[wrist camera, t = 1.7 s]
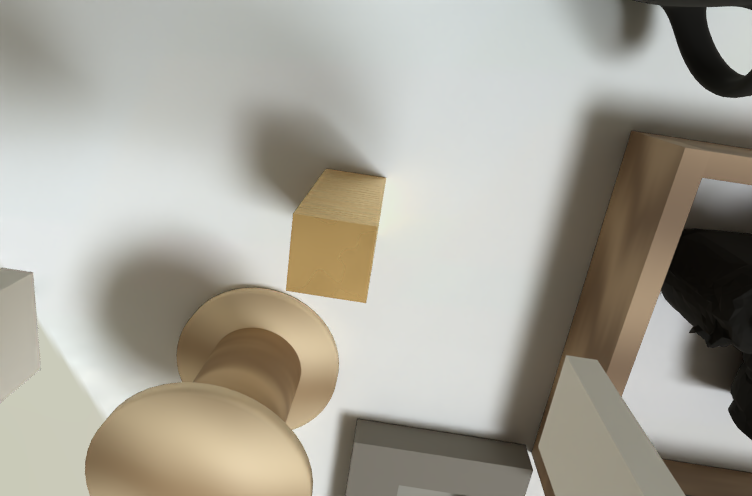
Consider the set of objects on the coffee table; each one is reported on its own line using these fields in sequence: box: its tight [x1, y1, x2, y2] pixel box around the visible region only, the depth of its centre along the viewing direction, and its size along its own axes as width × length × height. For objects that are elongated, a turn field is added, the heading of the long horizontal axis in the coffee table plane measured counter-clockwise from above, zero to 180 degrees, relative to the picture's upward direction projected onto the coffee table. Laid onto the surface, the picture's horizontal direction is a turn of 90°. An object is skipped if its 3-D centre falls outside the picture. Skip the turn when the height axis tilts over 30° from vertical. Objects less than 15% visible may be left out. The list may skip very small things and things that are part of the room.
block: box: [286, 169, 386, 303], centre depth 23 cm, size 3×3×8 cm
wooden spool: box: [85, 288, 339, 496], centre depth 25 cm, size 9×9×10 cm
